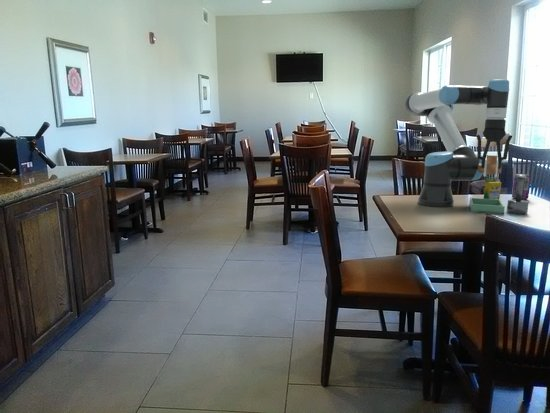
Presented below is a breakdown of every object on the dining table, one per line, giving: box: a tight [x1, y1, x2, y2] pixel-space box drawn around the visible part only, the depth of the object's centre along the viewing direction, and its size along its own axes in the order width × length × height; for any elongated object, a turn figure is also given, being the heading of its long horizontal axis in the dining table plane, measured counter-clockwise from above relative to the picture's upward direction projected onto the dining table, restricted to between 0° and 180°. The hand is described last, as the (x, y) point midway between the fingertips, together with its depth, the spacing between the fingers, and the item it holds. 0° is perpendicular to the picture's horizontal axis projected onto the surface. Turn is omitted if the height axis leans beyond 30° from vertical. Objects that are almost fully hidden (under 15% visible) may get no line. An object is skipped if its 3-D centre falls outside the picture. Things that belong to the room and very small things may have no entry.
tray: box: [468, 197, 506, 215], centre depth 198 cm, size 12×17×3 cm
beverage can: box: [511, 173, 531, 201], centre depth 223 cm, size 7×7×12 cm
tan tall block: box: [478, 154, 502, 175], centre depth 194 cm, size 8×13×8 cm, turn 160°
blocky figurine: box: [506, 175, 529, 216], centre depth 189 cm, size 8×8×16 cm
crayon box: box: [483, 176, 502, 200], centre depth 212 cm, size 7×3×12 cm, turn 114°
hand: (490, 176), depth 191 cm, fingers closed on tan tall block, 3 cm apart
